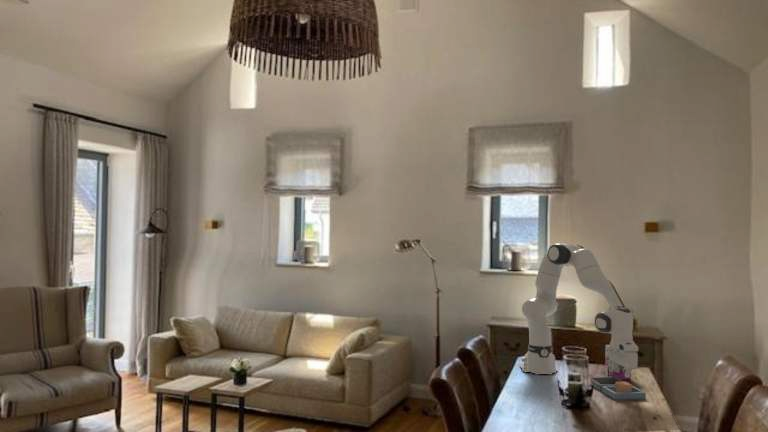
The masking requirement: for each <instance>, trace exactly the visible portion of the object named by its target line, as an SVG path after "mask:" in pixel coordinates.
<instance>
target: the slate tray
mask: <svg viewBox="0 0 768 432" xmlns="http://www.w3.org/2000/svg"><path fill="white" fill-rule="evenodd" d="M601 394H603V395H605V396H607V397H608V398H610V399H611V400H613V401H635V400H636V401H638V400H642V401H643V400H646V392H645V391H643V390H641V389H639V388H637V387H636V386H634V385H632V392H626V393H615V386H602V392H601Z"/></svg>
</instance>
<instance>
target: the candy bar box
mask: <svg viewBox="0 0 768 432" xmlns="http://www.w3.org/2000/svg"><path fill="white" fill-rule="evenodd" d="M608 347H609V344H605V349H604V351H605V352H604V353H605V354H604V355H605V359H604V360H605V363H604V365H605V366H604V367H605V369H604V372H605V376H604V377H617V378H618V379H620V380H622V381H631V377H632V376H631V373H632V372H631V373H630V378H626V377H625V376H624V373H625V372H626V370H625V367H623V366H621V365H619V364H618V368H619V372H615V371H614V366H613V361H612V360H610V359H609V358H608Z"/></svg>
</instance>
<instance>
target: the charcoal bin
mask: <svg viewBox="0 0 768 432" xmlns="http://www.w3.org/2000/svg"><path fill="white" fill-rule="evenodd" d="M590 380H591V382H592V384H593V387H594V388H593V387H592V388H593V389H595V390H596V391H598V392H601V393H602V386H615V382H625V380H620V379H618V378H617V377H605V376H591V377H590Z"/></svg>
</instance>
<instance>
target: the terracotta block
mask: <svg viewBox="0 0 768 432" xmlns="http://www.w3.org/2000/svg"><path fill="white" fill-rule="evenodd" d="M632 386H633V385H632V384H631V383H629V382H627V381H624V382H615V393H626V392H632Z"/></svg>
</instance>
